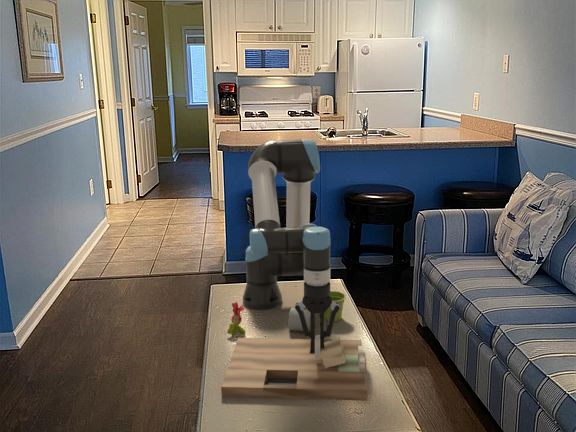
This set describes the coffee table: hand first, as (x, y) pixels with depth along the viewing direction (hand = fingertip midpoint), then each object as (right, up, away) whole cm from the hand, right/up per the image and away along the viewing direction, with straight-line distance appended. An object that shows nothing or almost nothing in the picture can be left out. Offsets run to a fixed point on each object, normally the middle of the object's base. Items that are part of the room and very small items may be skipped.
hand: (317, 357), depth 163 cm
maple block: (+5, -1, 0) cm, 5 cm away
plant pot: (+7, +5, +37) cm, 38 cm away
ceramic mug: (-4, +2, +30) cm, 30 cm away
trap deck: (-6, -4, +2) cm, 8 cm away
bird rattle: (-27, +2, +28) cm, 38 cm away
